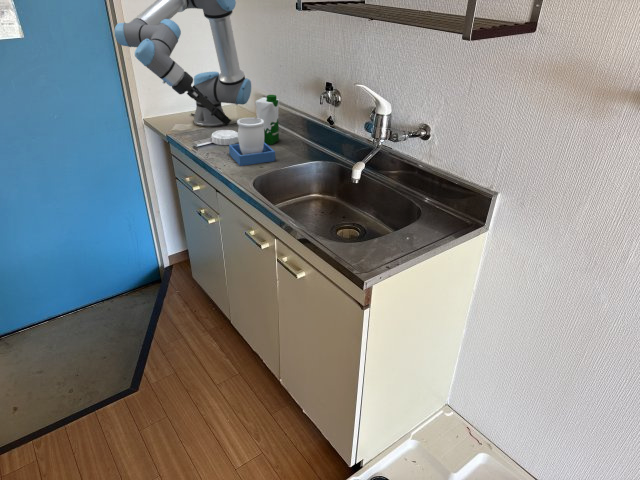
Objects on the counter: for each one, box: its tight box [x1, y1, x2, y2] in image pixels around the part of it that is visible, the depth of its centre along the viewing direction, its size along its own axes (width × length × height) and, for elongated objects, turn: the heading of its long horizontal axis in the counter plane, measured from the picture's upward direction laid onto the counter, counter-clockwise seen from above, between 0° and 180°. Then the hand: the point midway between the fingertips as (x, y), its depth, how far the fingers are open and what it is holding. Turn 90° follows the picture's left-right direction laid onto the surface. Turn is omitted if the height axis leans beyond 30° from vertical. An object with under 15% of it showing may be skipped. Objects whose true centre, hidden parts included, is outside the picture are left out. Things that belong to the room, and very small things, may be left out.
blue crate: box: [228, 142, 276, 167], centre depth 189 cm, size 14×15×4 cm
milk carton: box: [254, 94, 280, 146], centre depth 203 cm, size 9×9×20 cm
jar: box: [236, 117, 264, 155], centre depth 186 cm, size 11×10×15 cm
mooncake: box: [210, 129, 239, 146], centre depth 205 cm, size 12×12×4 cm
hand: (223, 117), depth 177 cm, fingers open, 13 cm apart
